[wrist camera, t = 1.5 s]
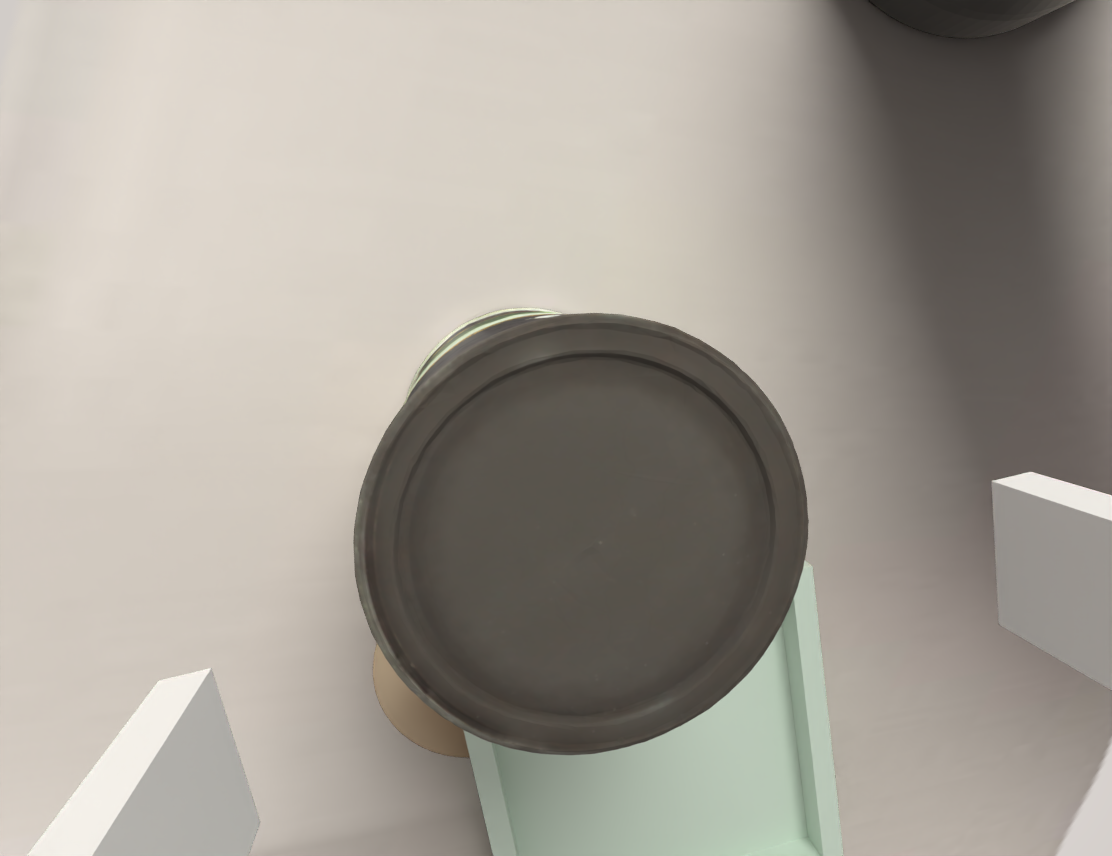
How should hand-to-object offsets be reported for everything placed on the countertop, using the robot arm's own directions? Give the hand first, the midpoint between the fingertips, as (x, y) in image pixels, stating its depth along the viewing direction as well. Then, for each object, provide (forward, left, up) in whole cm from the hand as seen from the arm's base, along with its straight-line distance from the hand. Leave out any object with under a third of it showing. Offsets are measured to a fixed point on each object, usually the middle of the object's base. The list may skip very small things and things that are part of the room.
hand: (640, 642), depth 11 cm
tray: (-3, +16, -18) cm, 24 cm away
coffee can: (0, 0, -18) cm, 18 cm away
